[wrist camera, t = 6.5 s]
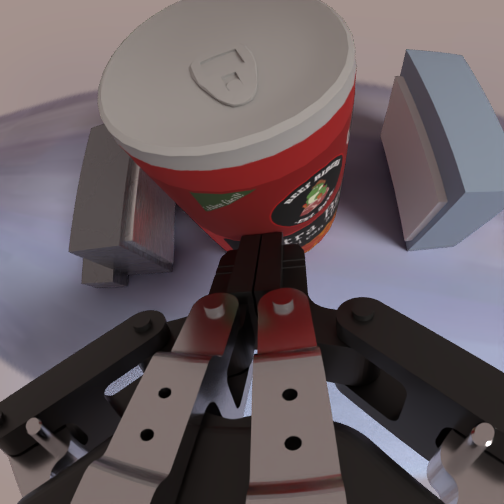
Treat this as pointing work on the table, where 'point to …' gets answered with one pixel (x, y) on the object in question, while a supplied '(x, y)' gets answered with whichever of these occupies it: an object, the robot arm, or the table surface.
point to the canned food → (238, 113)
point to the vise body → (119, 217)
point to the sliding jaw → (442, 150)
